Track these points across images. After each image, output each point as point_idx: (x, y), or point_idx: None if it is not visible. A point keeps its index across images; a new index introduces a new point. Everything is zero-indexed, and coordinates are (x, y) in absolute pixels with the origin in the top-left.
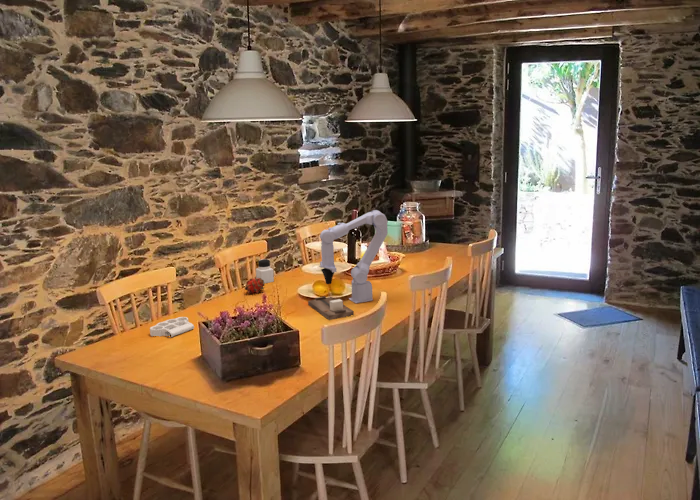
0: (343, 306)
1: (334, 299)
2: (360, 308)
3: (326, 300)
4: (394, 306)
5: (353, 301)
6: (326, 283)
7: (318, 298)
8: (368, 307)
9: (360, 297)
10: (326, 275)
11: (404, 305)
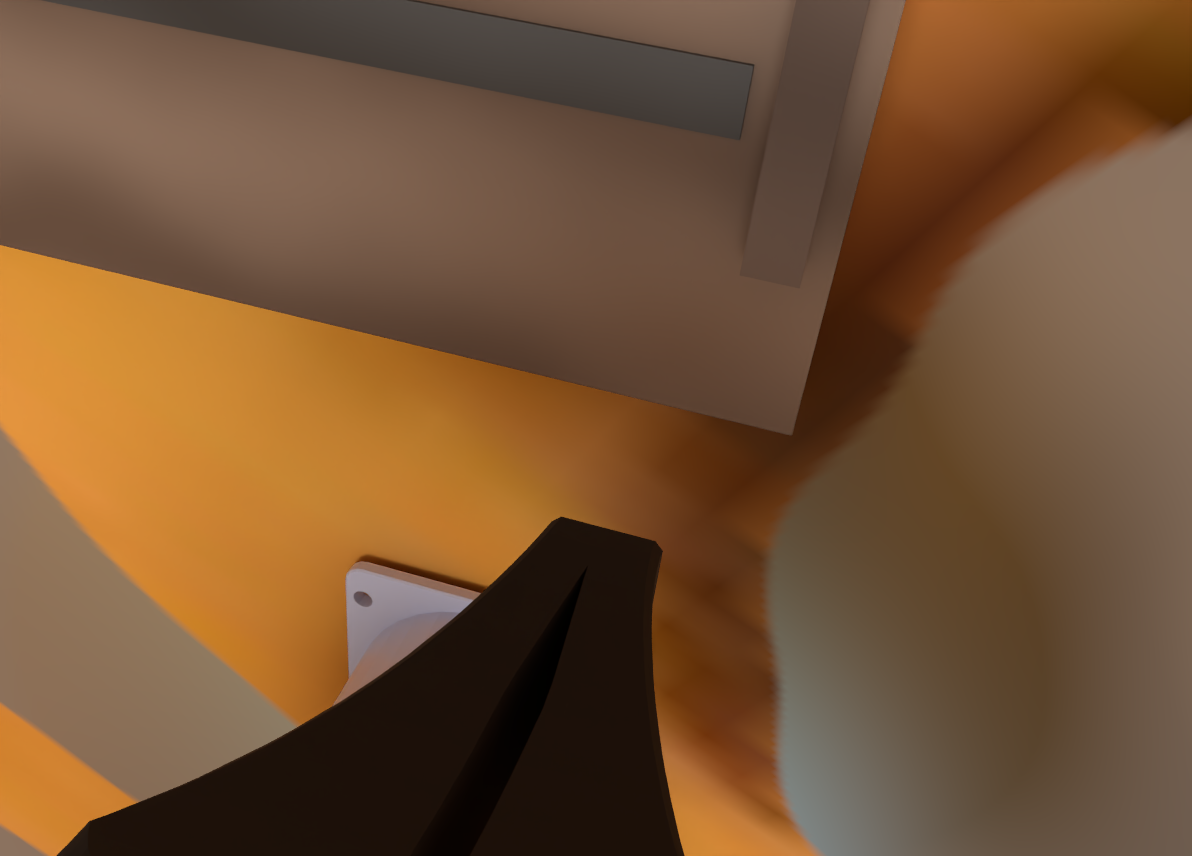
0: (33, 205)
1: (567, 364)
2: (110, 453)
3: (622, 181)
4: (34, 754)
5: (433, 587)
6: (617, 538)
7: (789, 38)
8: (111, 555)
9: (335, 702)
10: (279, 745)
11: (32, 826)
